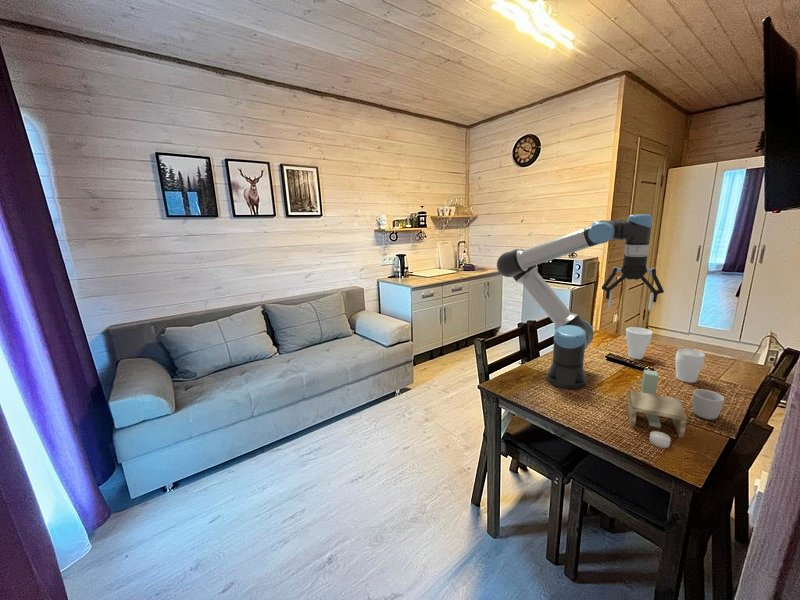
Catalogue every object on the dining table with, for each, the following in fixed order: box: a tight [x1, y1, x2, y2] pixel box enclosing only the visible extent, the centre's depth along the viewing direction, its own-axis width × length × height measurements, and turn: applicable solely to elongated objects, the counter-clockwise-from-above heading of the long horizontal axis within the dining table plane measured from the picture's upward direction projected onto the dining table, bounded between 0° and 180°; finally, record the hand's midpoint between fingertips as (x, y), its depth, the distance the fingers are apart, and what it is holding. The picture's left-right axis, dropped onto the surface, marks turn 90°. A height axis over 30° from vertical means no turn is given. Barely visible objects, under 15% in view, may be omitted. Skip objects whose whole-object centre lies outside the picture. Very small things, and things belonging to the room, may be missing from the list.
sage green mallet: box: [640, 369, 662, 429], centre depth 119 cm, size 4×21×11 cm, turn 151°
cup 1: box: [625, 326, 654, 360], centre depth 162 cm, size 10×10×14 cm
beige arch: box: [626, 389, 688, 438], centre depth 114 cm, size 14×12×7 cm
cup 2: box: [675, 348, 706, 384], centre depth 140 cm, size 9×9×12 cm
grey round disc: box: [648, 430, 671, 449], centre depth 104 cm, size 5×5×2 cm
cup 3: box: [692, 388, 725, 421], centre depth 117 cm, size 11×8×8 cm
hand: (629, 308), depth 135 cm, fingers open, 13 cm apart
